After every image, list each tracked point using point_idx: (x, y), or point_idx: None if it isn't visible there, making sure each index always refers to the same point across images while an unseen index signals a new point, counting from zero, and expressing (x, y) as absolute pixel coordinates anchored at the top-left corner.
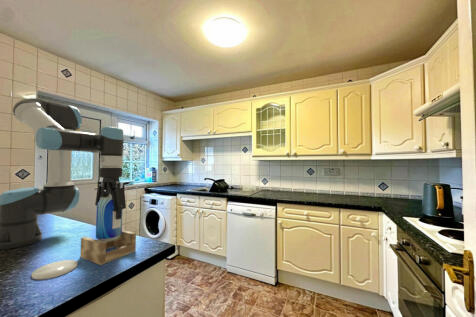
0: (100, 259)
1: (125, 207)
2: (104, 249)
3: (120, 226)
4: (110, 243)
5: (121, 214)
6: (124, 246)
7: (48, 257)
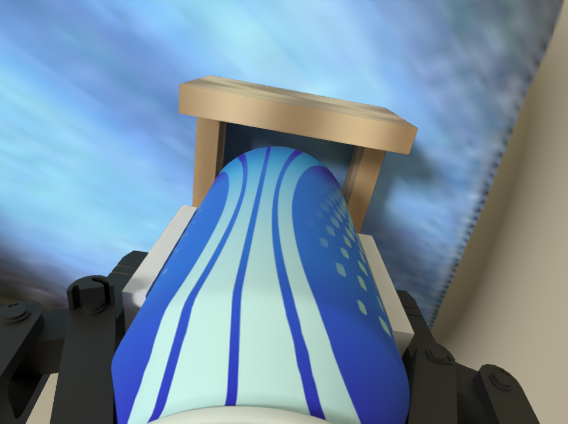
0: None
1: (514, 383)
2: None
3: (371, 238)
4: (222, 126)
5: (366, 261)
6: (368, 172)
7: (91, 263)
